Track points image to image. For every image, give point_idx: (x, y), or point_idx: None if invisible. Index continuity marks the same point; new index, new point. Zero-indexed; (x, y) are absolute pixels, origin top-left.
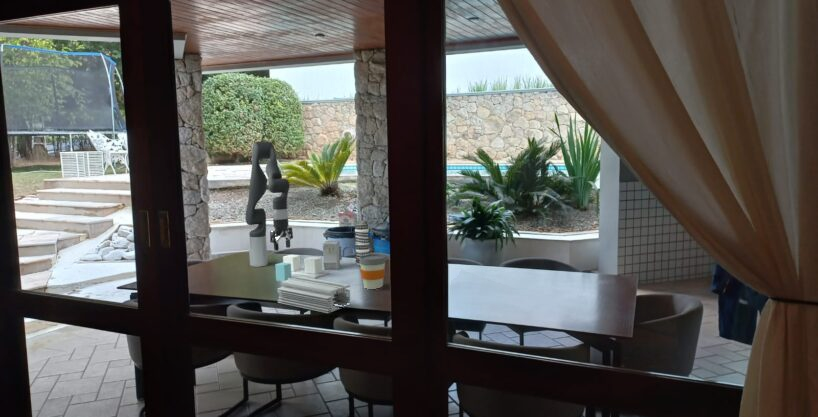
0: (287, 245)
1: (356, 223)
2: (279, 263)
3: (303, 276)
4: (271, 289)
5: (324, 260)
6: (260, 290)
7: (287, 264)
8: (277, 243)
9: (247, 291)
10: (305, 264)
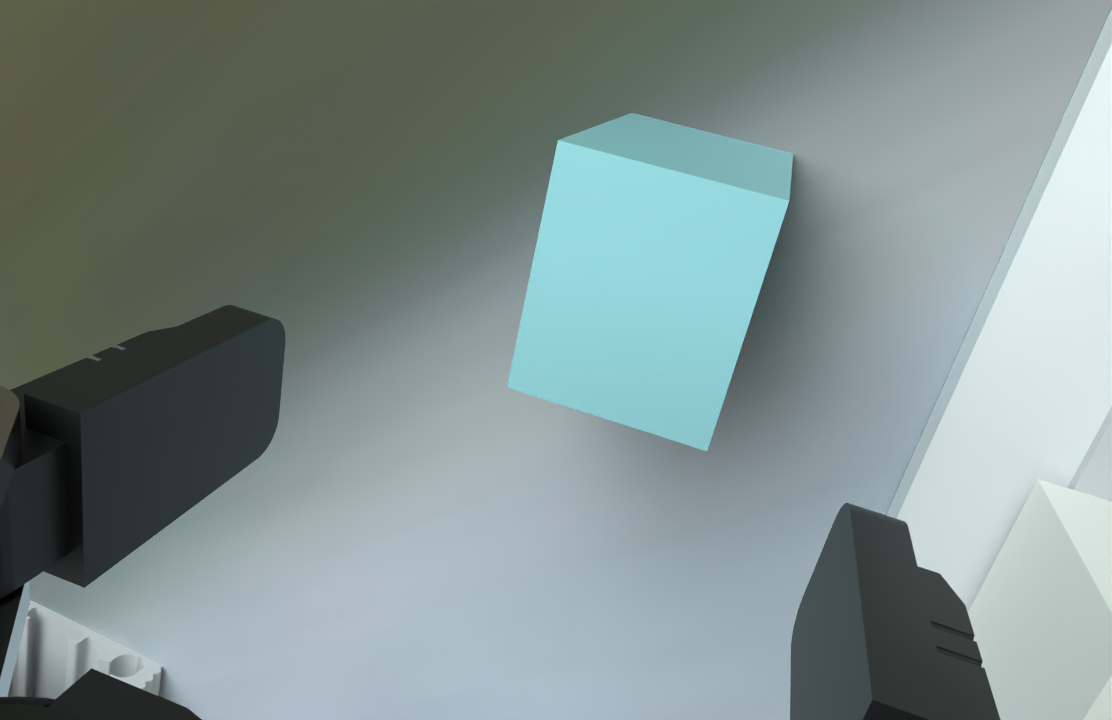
0: (820, 613)
1: None
2: (668, 192)
3: (910, 469)
4: (205, 298)
5: None
6: (124, 182)
7: (605, 418)
8: (49, 563)
9: (29, 33)
10: (1074, 586)
